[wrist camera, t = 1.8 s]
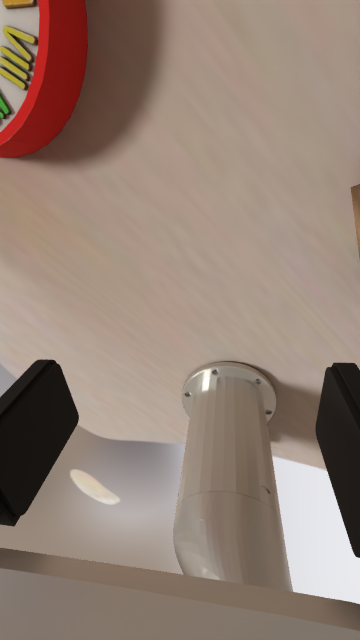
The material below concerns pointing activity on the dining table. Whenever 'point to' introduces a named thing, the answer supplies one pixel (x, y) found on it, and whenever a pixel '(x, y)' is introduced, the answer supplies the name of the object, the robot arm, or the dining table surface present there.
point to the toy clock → (39, 70)
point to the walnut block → (356, 210)
